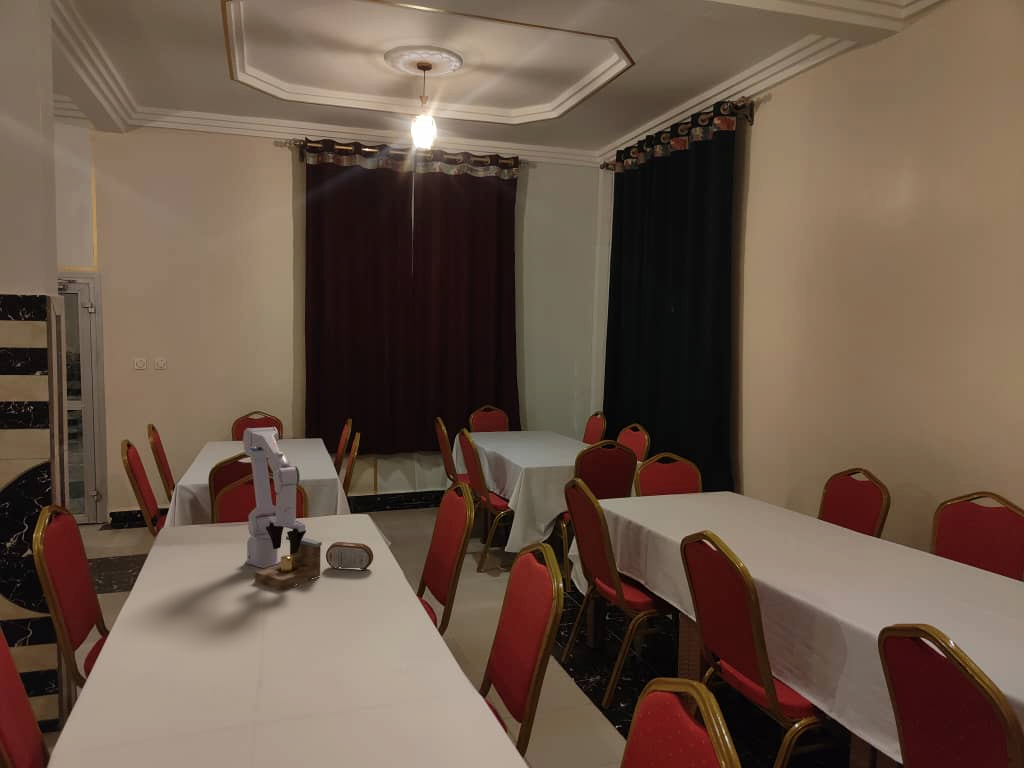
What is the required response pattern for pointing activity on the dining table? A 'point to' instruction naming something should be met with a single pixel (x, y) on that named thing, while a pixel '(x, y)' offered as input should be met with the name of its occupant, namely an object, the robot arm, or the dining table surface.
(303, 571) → the socket block
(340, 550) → the tin
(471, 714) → the dining table surface
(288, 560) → the peg
